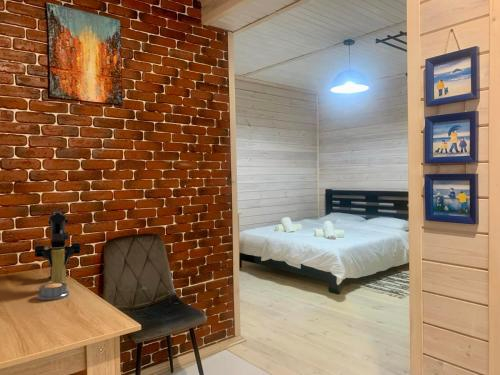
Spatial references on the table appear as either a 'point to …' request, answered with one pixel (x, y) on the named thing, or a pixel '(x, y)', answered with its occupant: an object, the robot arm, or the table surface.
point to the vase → (58, 265)
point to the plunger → (53, 285)
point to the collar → (52, 292)
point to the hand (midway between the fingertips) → (58, 265)
